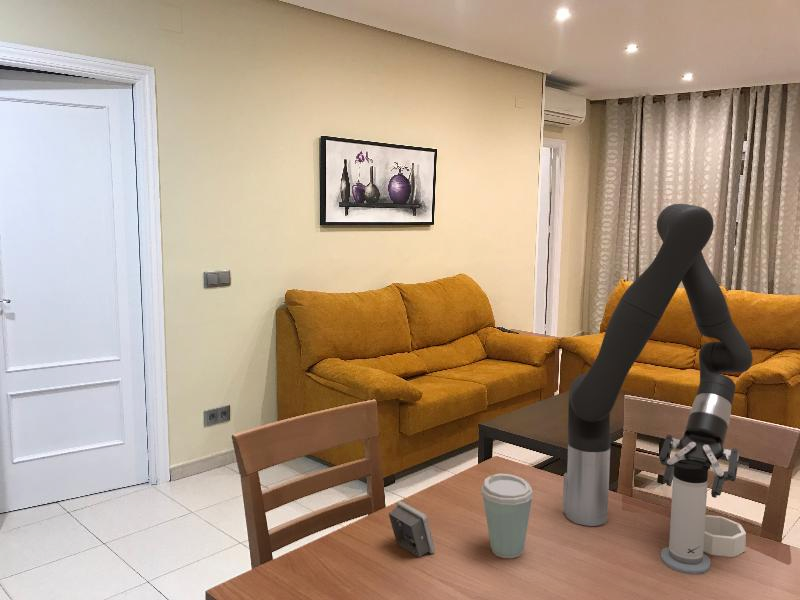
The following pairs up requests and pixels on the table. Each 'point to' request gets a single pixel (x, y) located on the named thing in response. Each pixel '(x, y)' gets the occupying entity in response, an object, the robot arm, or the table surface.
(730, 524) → the collar
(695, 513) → the travel mug
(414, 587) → the table surface
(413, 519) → the electrical switch
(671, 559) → the coaster
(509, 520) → the disposable coffee cup
